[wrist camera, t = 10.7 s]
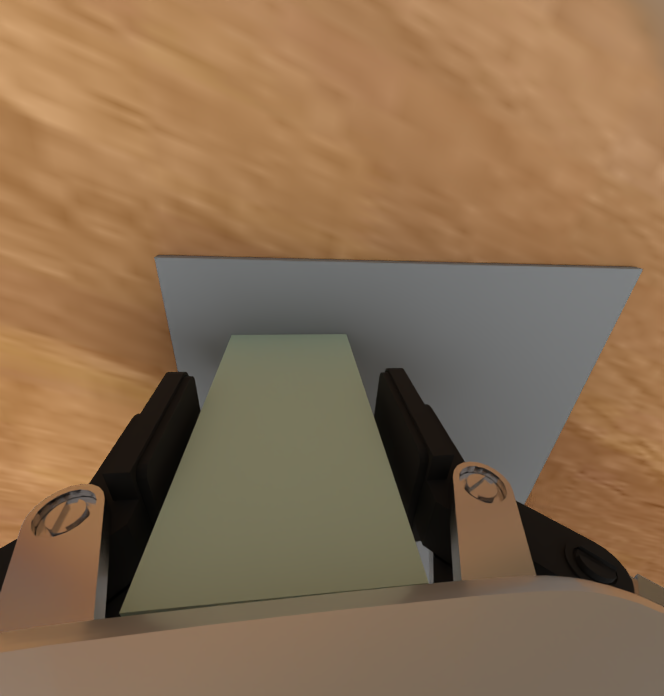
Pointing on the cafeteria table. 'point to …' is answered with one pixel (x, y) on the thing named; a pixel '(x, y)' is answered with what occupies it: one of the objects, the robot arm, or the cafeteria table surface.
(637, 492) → the cafeteria table surface
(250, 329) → the slate mat
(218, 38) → the cafeteria table surface
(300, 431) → the domino end
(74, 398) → the cafeteria table surface
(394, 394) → the robot arm
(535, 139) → the cafeteria table surface
